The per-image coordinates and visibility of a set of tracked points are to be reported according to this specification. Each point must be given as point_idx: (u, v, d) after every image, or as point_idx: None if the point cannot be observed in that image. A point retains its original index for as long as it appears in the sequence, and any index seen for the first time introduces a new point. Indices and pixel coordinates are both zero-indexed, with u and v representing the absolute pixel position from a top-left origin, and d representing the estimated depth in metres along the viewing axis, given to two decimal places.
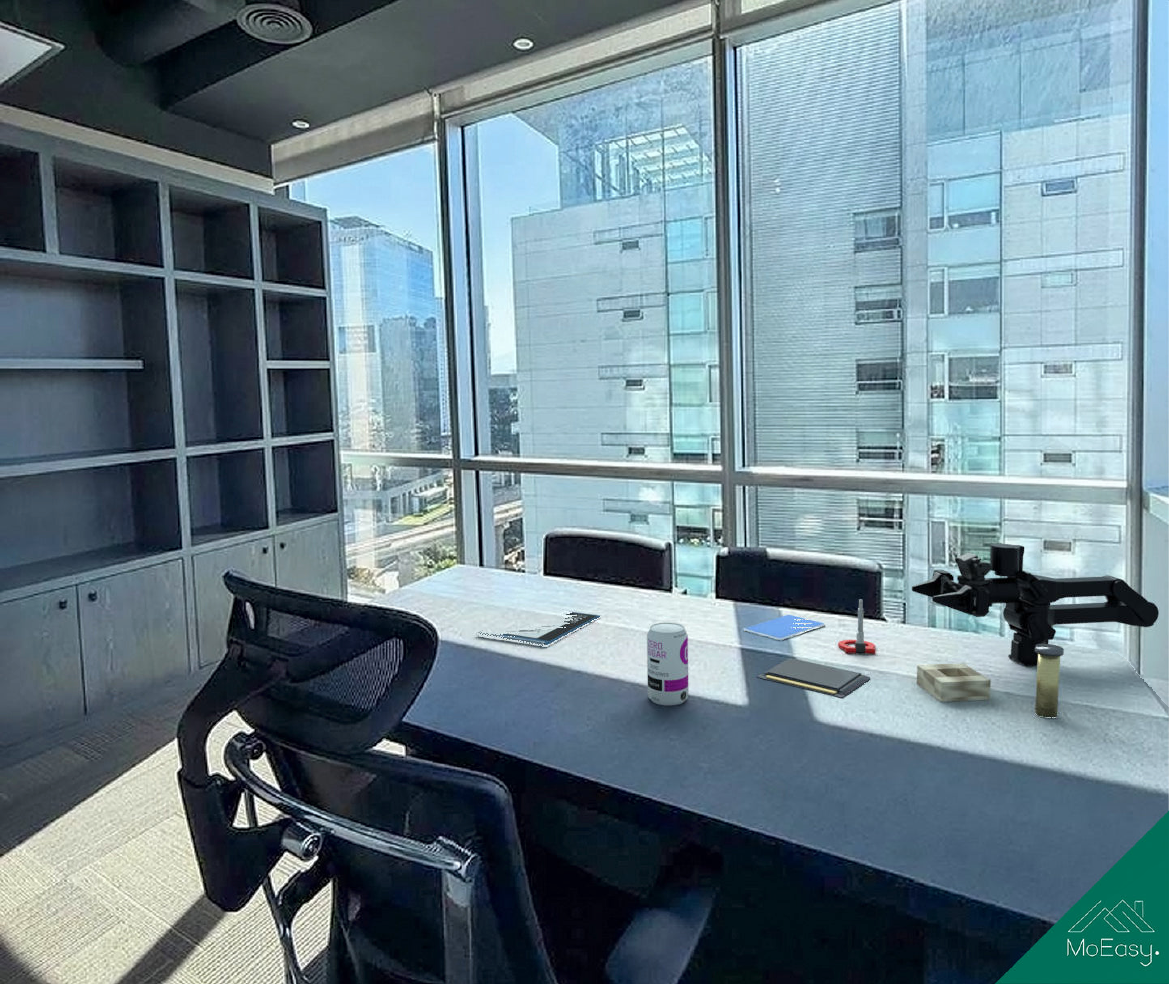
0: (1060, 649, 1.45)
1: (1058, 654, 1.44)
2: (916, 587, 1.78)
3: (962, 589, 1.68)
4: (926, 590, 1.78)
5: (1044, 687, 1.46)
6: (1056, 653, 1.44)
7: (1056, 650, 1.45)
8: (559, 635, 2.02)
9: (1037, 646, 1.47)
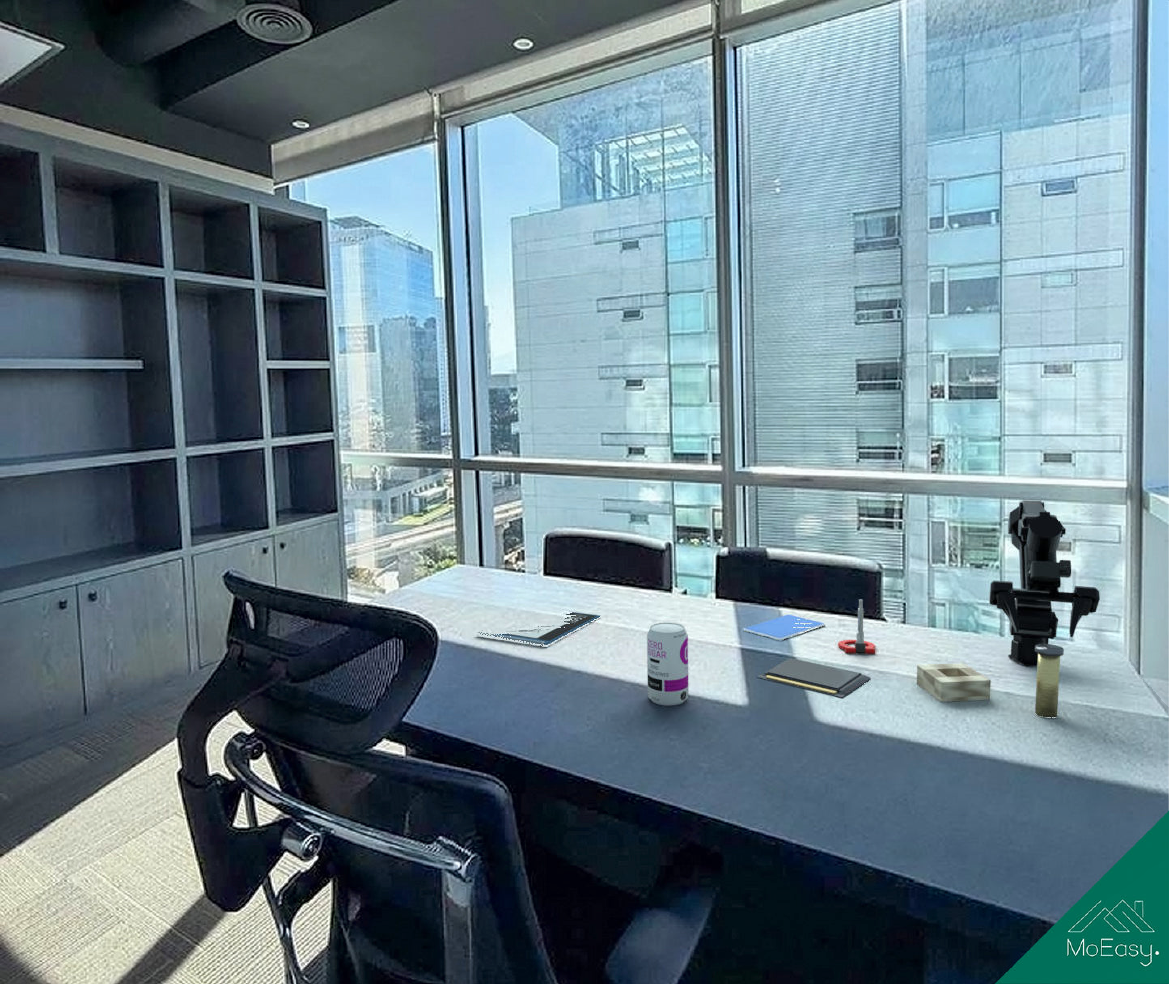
0: (1060, 649, 1.45)
1: (1058, 654, 1.44)
2: (1018, 626, 1.55)
3: (1077, 604, 1.52)
4: None
5: (1044, 687, 1.46)
6: (1056, 653, 1.44)
7: (1056, 650, 1.45)
8: (559, 635, 2.02)
9: (1037, 646, 1.47)
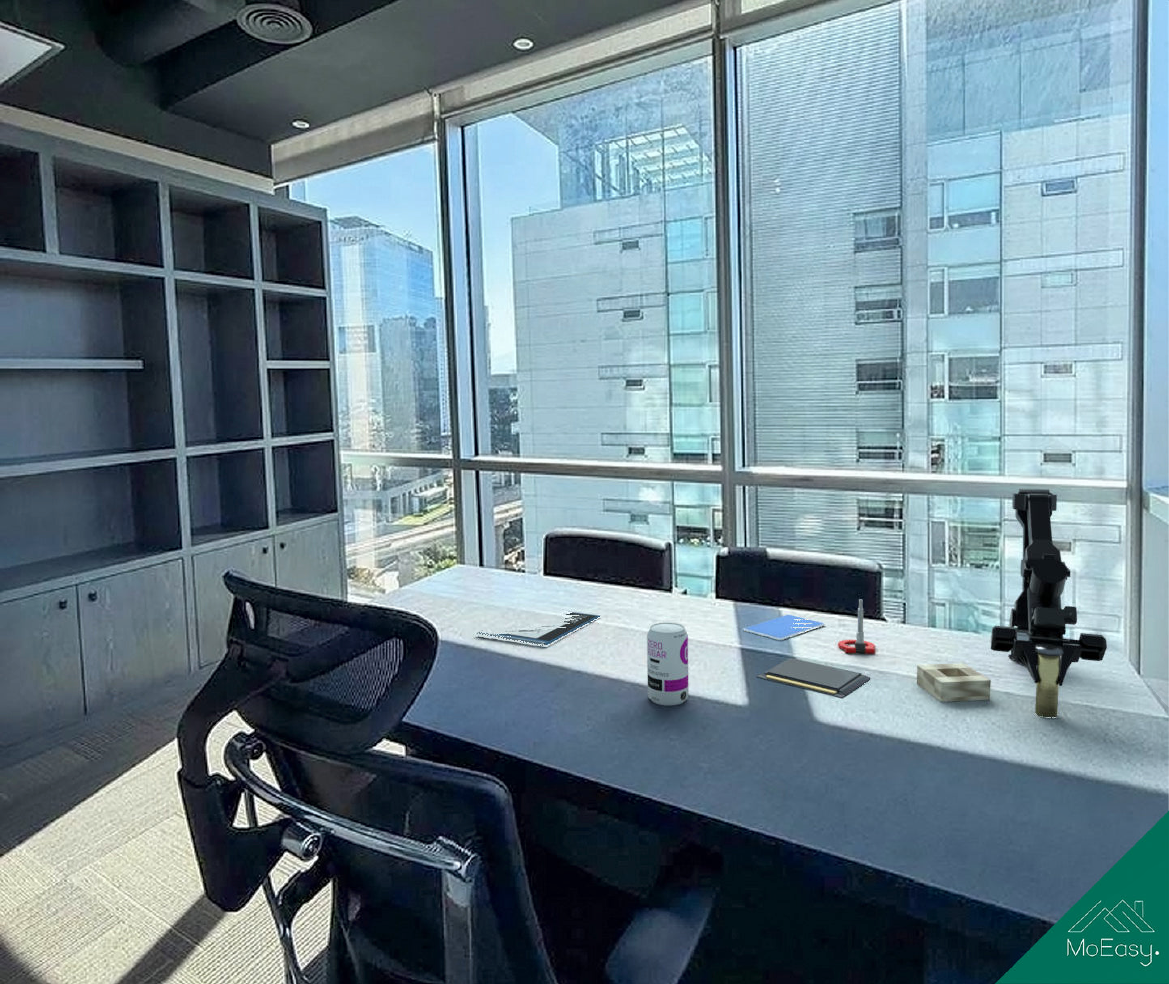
0: (1060, 649, 1.45)
1: (1058, 654, 1.44)
2: (1037, 677, 1.47)
3: (1067, 651, 1.46)
4: None
5: (1044, 687, 1.46)
6: (1056, 653, 1.44)
7: (1056, 650, 1.45)
8: (559, 635, 2.01)
9: (1037, 646, 1.47)
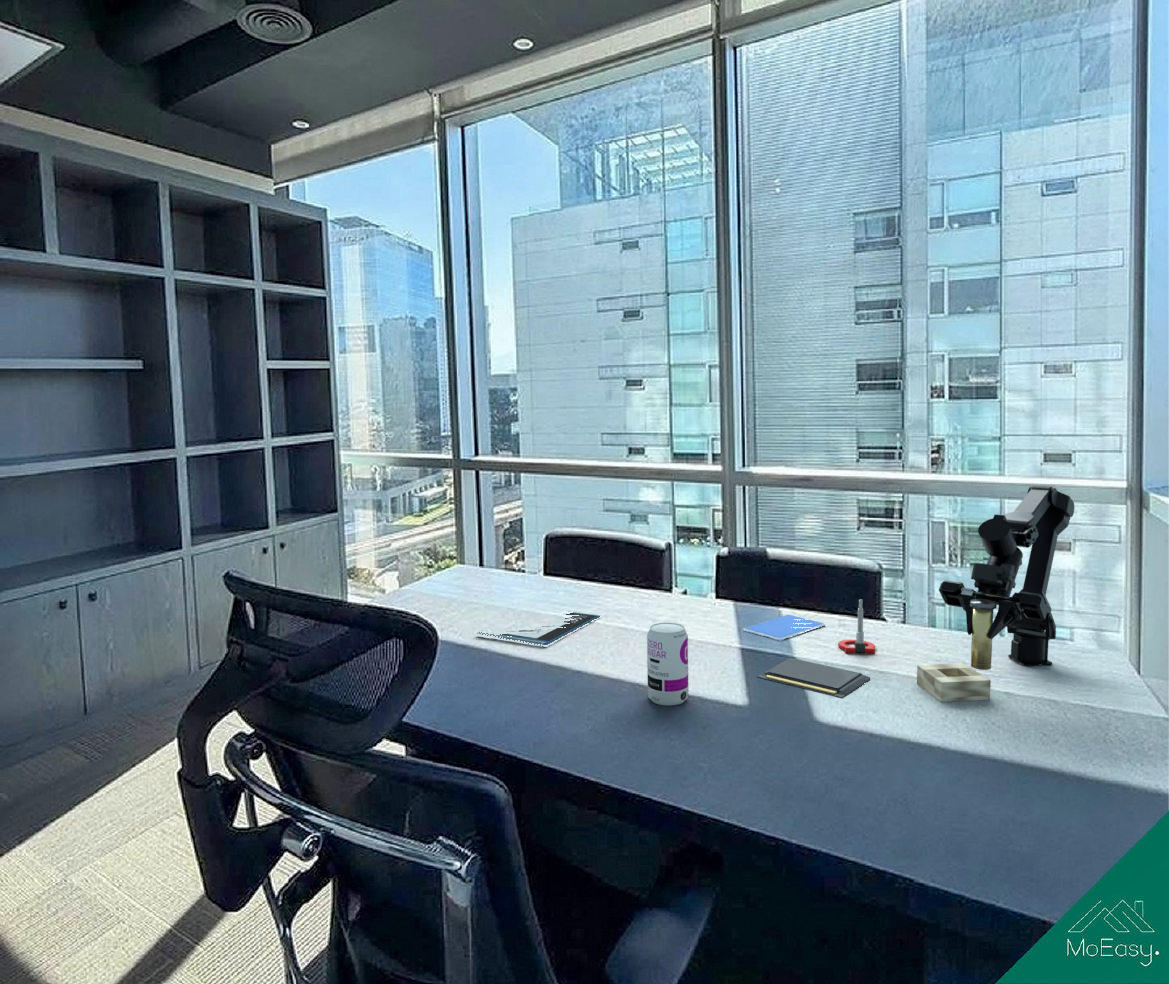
0: (991, 603, 1.51)
1: (986, 607, 1.51)
2: (970, 629, 1.54)
3: (1002, 607, 1.52)
4: None
5: (975, 638, 1.53)
6: (984, 606, 1.51)
7: (986, 604, 1.51)
8: (559, 635, 2.01)
9: (972, 600, 1.54)
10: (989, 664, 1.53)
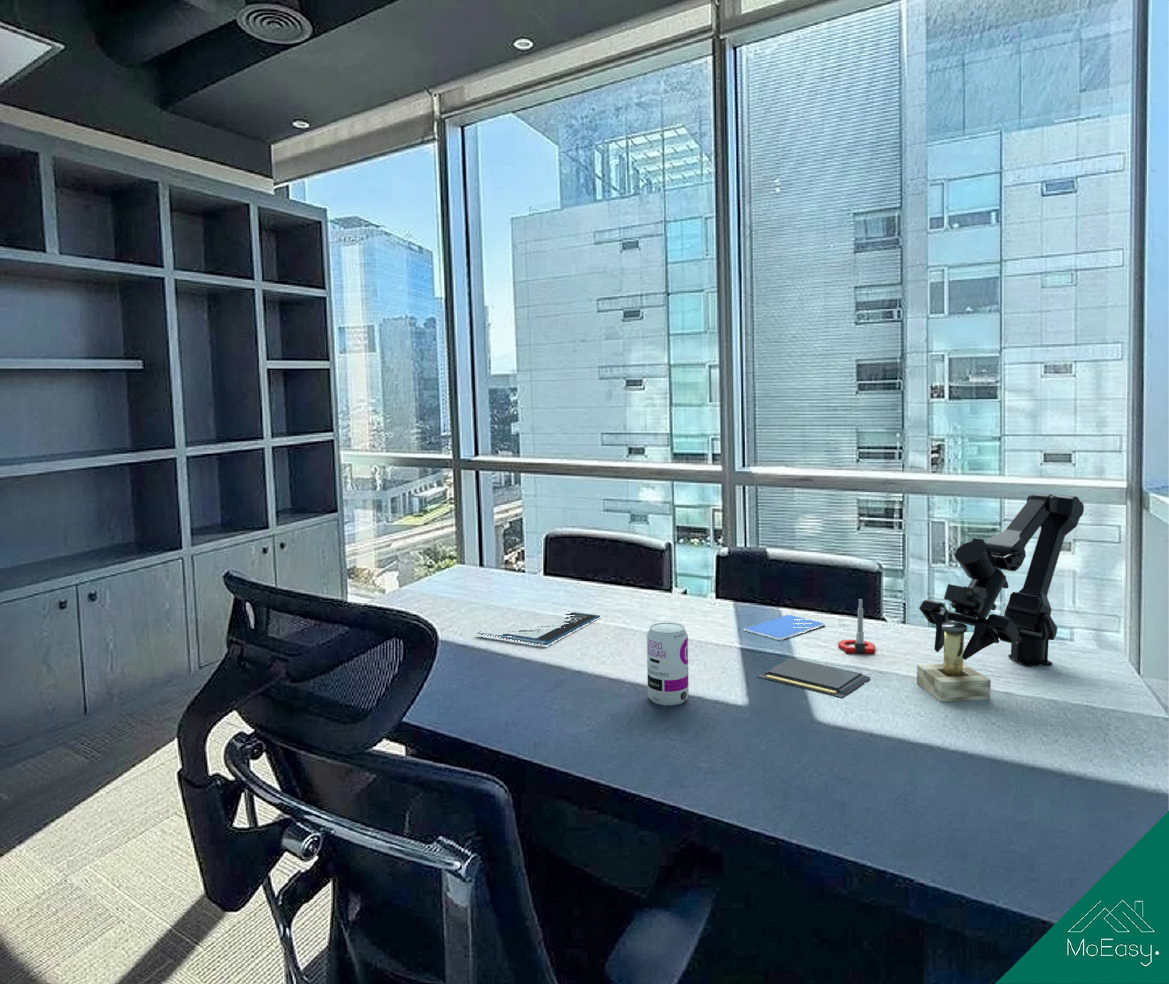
0: (960, 627, 1.57)
1: (954, 631, 1.56)
2: (938, 646, 1.61)
3: (977, 629, 1.56)
4: (943, 638, 1.62)
5: (945, 660, 1.59)
6: (952, 630, 1.57)
7: (954, 627, 1.57)
8: (559, 635, 2.01)
9: (945, 623, 1.60)
10: None
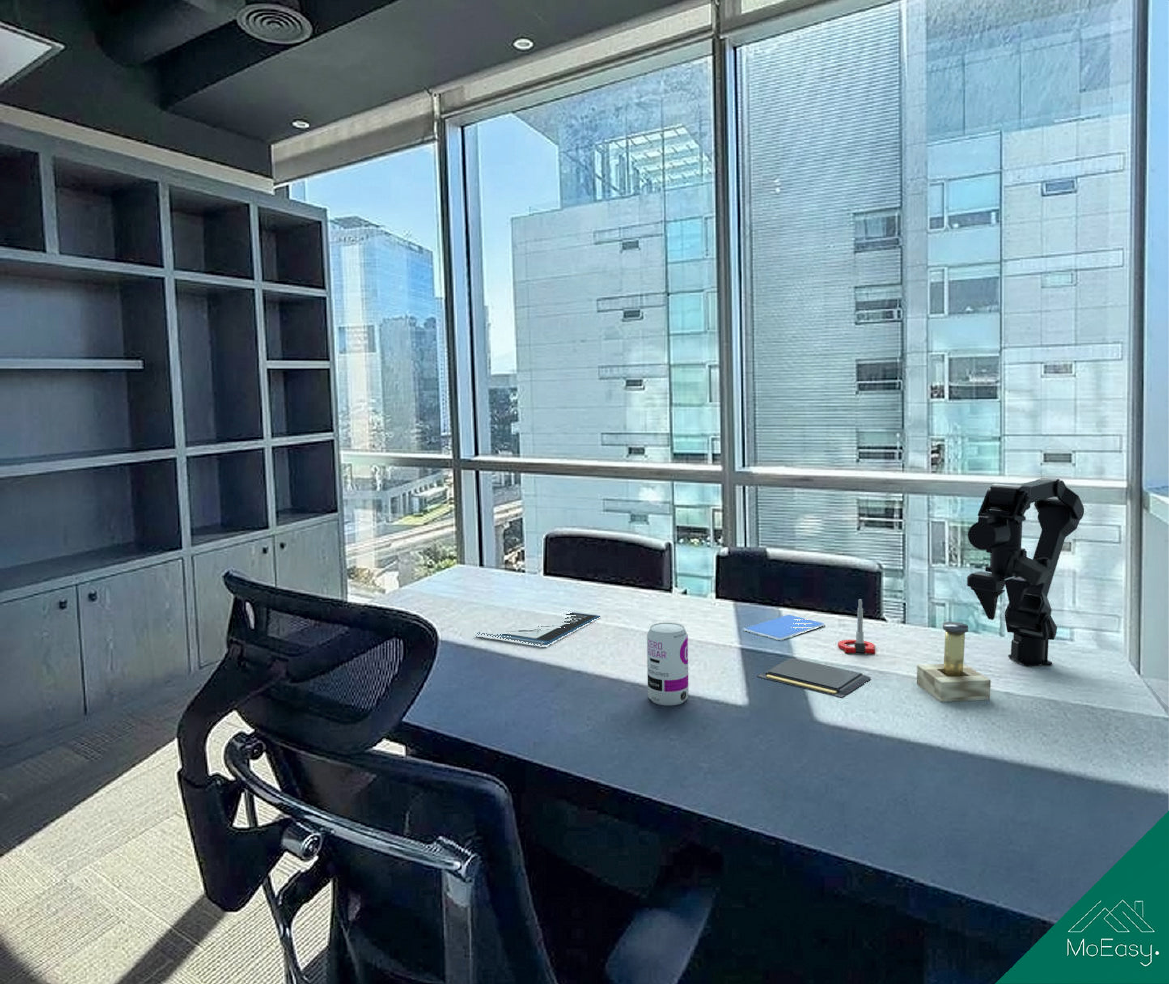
0: (961, 627, 1.57)
1: (955, 631, 1.57)
2: None
3: (1028, 586, 1.68)
4: None
5: (945, 659, 1.59)
6: (953, 629, 1.57)
7: (955, 627, 1.57)
8: (558, 635, 2.01)
9: (946, 622, 1.60)
10: None
